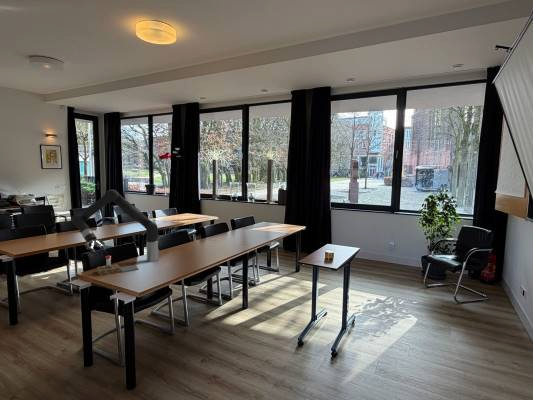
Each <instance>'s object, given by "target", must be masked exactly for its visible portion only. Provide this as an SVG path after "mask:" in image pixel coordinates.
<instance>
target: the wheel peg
mask: <svg viewBox="0 0 533 400" xmlns="http://www.w3.org/2000/svg"><path fill="white" fill-rule="evenodd" d="M111 259H112V255H106V256H105V260H106V264H105V266H107V268H111V265H112V260H111Z"/></svg>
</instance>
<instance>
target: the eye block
mask: <svg viewBox="0 0 533 400" xmlns="http://www.w3.org/2000/svg"><path fill="white" fill-rule="evenodd" d="M120 267H121V266H119V265H118V264H117V263H116V264H115V263H114V264H111V268H107V266H106V265H103V266H97V267H96V270H97V271H96V272H97V274H98V275H99V276H105V275H106V276H107V275H112V274H119V273H121V271H120Z"/></svg>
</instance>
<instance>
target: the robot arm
mask: <svg viewBox="0 0 533 400" xmlns="http://www.w3.org/2000/svg"><path fill="white" fill-rule="evenodd" d="M111 202H113V203H114V204H115V205H117V206H118V207H119V208H120V209H121V210H122V212H123V213H124V214H126V215H127V216H128V217H129V218H131V219H132V220H133V221H135V222H137V223H139V224H140V225H141V226H142V227H143V228H144V229H145V233H146V262H148V263H154V262H158V261H159V260H160V259H159V258H160V254H159V253H160V250H159V240H158V239H159V228H158V225H157V223H155V222H154V221H152V220H151V219H149V218H148V217H147V216H146V215H145V214H144V213H143V212H141V211H140V209H138V207H136V206H135V205H134V204H133V203H131V202H130V201H129V200H126V199H125V198H124V197H123V196H122V195H121V194H120V193H119V192H118V191H117V190H115V189H108V190H107V191H106V192H105V193H104V194H103V195H102V196H101V197H100V198H99V199H98V200H96V202H93V203H91V204H90V205H89V206H88V207H86V208H85V209H84V210H82V215H79V214H74V215H72V217H71V223H72V224H73V225H74V227H75V228H77V229H78V231H79V233H80V234H81V236H82V237H83V239H84V240H85V243H84V247H85V248H86V250H87V251H91V253H92V254H95V253H96V250H95V249H94V248H95V247H97V248H101V250H102V251H103V252H105V251H106V248H105V245H106V244H105V242H104V241H103V239H102V238H100V239H98V238H97V236H96V235H95V233H94V232H93V230H92V229H91V228H90V226H89V225H88V224H87V223H86V222H87V221H88V220H89V219H90V218H91V217H92V216H94V215H95V214H96V213H97V212H99V210H101V209H102V208H103V207H105V206H107V204H109V203H111Z"/></svg>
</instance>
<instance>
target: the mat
mask: <svg viewBox="0 0 533 400" xmlns="http://www.w3.org/2000/svg"><path fill="white" fill-rule="evenodd" d="M119 267H120V273H127V272H132V271H139V267H137V266H136V264H134V265H133V264H132V265H127V266H119Z"/></svg>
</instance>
